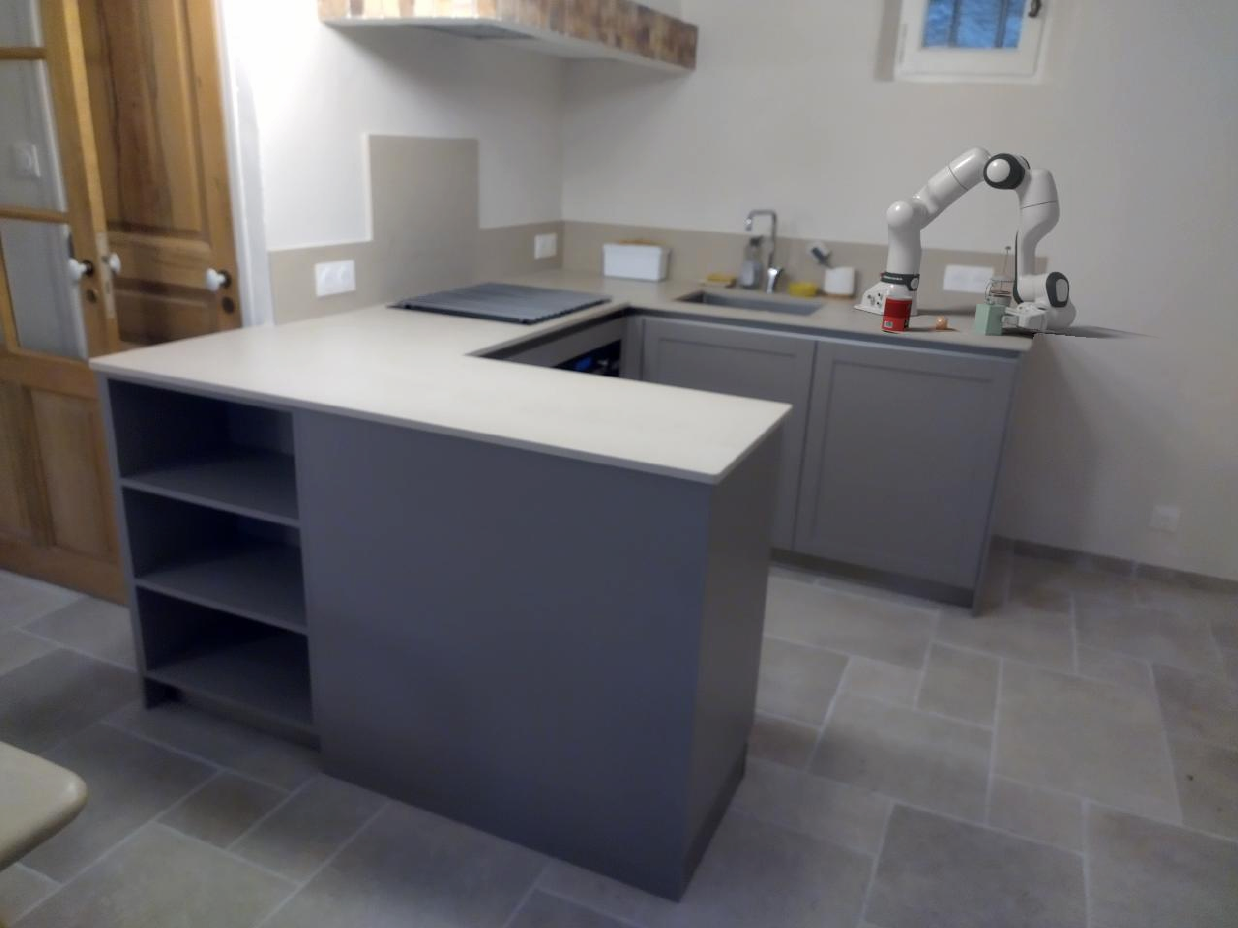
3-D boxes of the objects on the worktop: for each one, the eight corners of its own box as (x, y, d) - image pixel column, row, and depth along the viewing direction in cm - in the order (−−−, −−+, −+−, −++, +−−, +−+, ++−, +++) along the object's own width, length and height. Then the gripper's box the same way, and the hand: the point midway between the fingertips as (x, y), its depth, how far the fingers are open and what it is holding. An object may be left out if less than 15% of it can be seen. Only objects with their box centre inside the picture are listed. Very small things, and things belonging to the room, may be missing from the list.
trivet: (919, 329, 290) (920, 326, 290) (943, 328, 293) (944, 326, 293) (937, 334, 282) (937, 331, 282) (961, 334, 285) (961, 331, 285)
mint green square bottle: (972, 332, 285) (977, 299, 282) (988, 331, 287) (993, 299, 284) (984, 335, 280) (990, 302, 276) (1001, 335, 282) (1006, 302, 278)
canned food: (909, 334, 280) (914, 299, 276) (882, 332, 281) (887, 297, 277) (906, 330, 287) (911, 295, 283) (880, 328, 288) (885, 293, 284)
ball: (933, 328, 288) (935, 317, 286) (939, 327, 289) (941, 316, 288) (942, 330, 285) (943, 319, 284) (948, 329, 287) (950, 318, 286)
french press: (992, 322, 310) (1005, 247, 302) (971, 316, 320) (983, 243, 312) (1016, 322, 312) (1030, 247, 304) (995, 316, 323) (1007, 244, 315)
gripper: (1007, 301, 294) (971, 301, 290) (1053, 311, 276) (1015, 312, 272) (1003, 320, 296) (968, 320, 292) (1049, 332, 278) (1011, 333, 274)
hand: (991, 316), depth 282 cm, fingers open, 8 cm apart
